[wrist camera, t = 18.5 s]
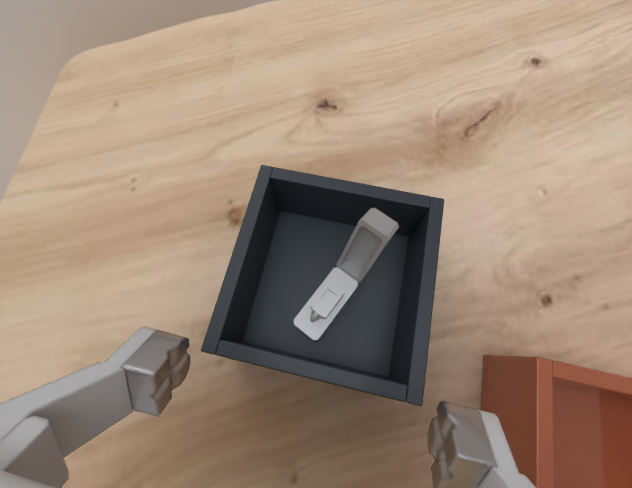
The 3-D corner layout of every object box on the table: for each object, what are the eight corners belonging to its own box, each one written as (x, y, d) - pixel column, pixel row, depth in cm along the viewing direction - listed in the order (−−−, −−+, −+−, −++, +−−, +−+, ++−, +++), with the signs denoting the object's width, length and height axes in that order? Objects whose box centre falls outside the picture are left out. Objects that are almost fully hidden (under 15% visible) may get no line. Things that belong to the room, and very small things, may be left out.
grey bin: (418, 231, 24) (444, 198, 19) (396, 392, 21) (422, 406, 15) (274, 203, 25) (261, 164, 20) (230, 350, 22) (200, 351, 16)
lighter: (317, 343, 21) (314, 340, 14) (297, 327, 21) (283, 315, 14) (376, 263, 23) (403, 220, 15) (357, 249, 23) (373, 201, 16)
